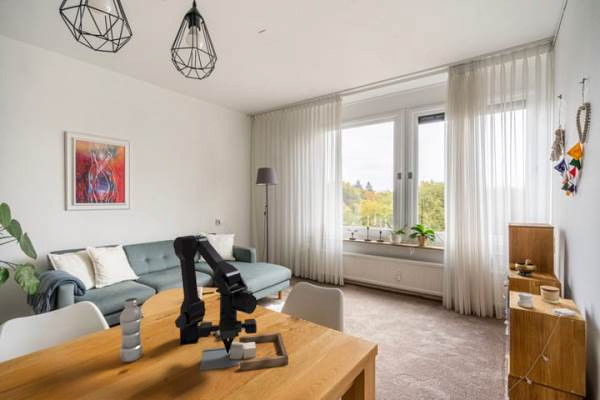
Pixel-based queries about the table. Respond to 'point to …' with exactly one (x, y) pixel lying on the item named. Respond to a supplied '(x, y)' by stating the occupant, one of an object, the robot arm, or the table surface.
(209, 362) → the rubber tray
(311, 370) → the table surface
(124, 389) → the table surface
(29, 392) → the table surface
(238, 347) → the cream matte cube
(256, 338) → the walnut corral
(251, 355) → the white square block
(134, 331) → the plastic bottle
